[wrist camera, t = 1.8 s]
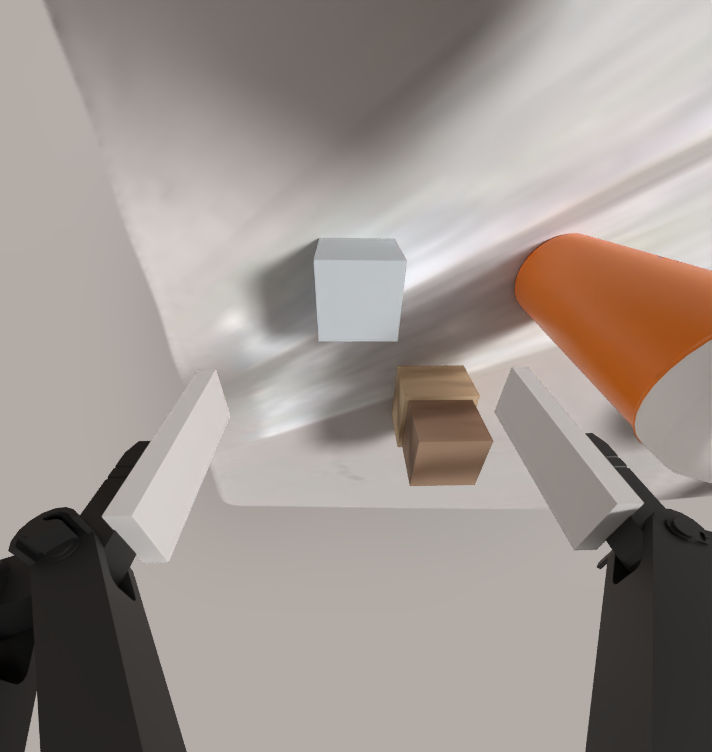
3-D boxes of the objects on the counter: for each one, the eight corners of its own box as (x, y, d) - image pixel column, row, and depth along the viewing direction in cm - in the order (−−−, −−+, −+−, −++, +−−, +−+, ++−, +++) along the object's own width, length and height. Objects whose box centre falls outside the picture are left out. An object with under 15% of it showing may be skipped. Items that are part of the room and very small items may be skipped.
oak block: (397, 365, 32) (404, 396, 28) (463, 364, 32) (479, 395, 28) (391, 413, 36) (397, 447, 32) (450, 413, 37) (463, 445, 33)
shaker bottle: (522, 338, 31) (717, 551, 15) (487, 266, 26) (713, 457, 10) (620, 285, 27) (1004, 480, 11) (599, 193, 23) (1177, 301, 7)
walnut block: (408, 400, 28) (419, 441, 24) (472, 399, 29) (493, 440, 25) (401, 443, 32) (409, 485, 28) (458, 442, 32) (474, 484, 28)
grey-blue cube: (319, 237, 24) (313, 259, 20) (394, 238, 25) (406, 260, 20) (323, 308, 28) (318, 341, 23) (388, 308, 28) (397, 341, 23)
